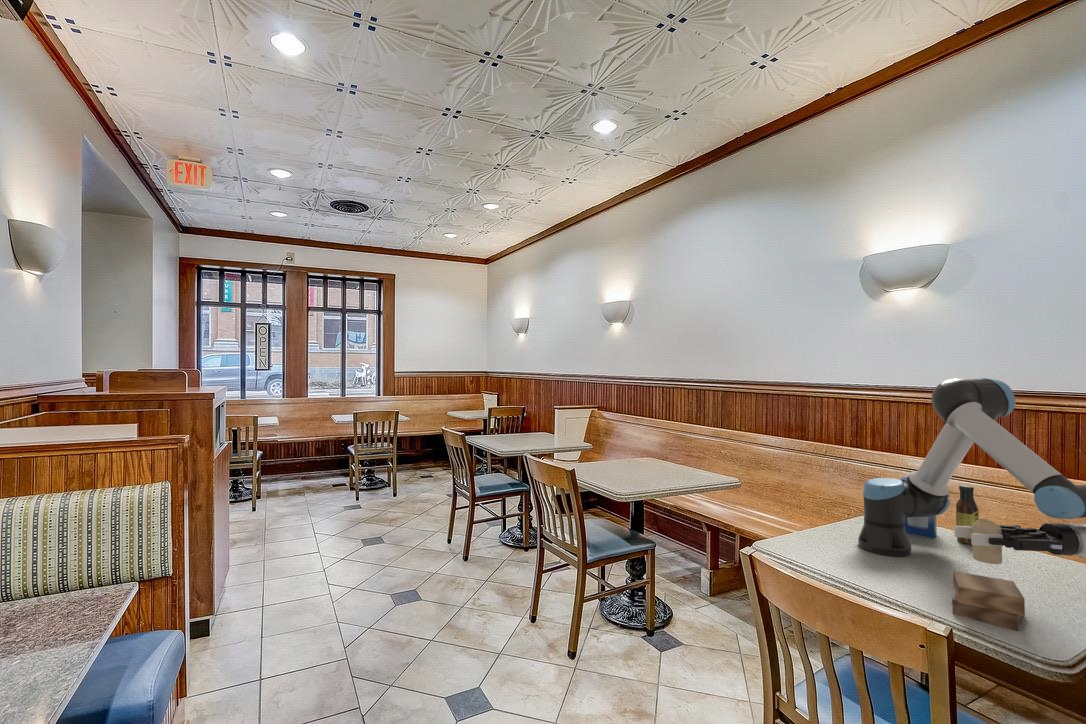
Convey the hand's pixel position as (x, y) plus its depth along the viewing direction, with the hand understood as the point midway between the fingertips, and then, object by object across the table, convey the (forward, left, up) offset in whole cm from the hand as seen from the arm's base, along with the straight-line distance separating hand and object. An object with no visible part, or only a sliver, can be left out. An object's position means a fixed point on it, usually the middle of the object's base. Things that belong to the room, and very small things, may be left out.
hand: (963, 535), depth 128 cm
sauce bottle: (-9, +69, -20) cm, 73 cm away
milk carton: (-23, +68, -20) cm, 75 cm away
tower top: (+4, +4, -16) cm, 17 cm away
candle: (+4, +3, -6) cm, 8 cm away
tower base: (+4, +4, -20) cm, 21 cm away
